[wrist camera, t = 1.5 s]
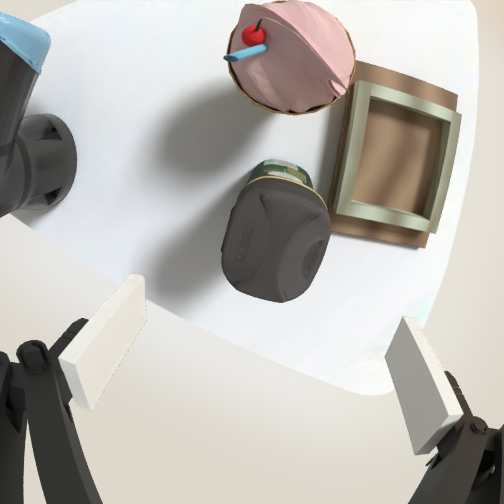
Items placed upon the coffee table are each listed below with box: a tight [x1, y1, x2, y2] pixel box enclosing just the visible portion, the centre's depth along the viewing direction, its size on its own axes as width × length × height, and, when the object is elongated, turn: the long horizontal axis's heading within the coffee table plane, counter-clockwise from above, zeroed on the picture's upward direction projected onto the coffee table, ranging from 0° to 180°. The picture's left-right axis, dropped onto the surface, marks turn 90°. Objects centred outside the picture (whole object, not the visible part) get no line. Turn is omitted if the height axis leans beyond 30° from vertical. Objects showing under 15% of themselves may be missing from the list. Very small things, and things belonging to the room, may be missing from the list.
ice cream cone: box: [224, 0, 355, 116], centre depth 24 cm, size 11×11×20 cm
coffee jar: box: [221, 159, 331, 303], centre depth 30 cm, size 10×8×19 cm
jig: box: [327, 60, 462, 248], centre depth 34 cm, size 15×22×4 cm
